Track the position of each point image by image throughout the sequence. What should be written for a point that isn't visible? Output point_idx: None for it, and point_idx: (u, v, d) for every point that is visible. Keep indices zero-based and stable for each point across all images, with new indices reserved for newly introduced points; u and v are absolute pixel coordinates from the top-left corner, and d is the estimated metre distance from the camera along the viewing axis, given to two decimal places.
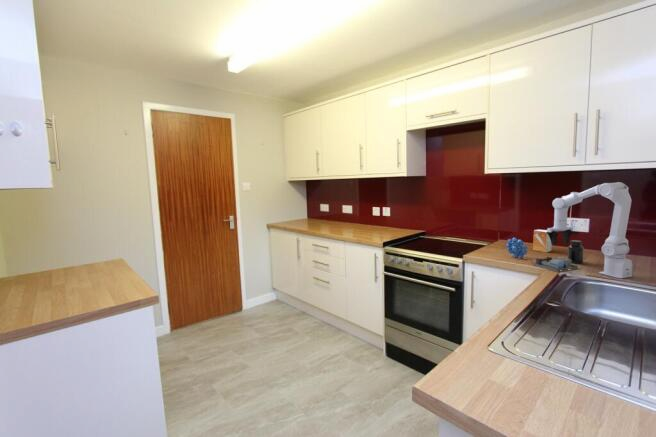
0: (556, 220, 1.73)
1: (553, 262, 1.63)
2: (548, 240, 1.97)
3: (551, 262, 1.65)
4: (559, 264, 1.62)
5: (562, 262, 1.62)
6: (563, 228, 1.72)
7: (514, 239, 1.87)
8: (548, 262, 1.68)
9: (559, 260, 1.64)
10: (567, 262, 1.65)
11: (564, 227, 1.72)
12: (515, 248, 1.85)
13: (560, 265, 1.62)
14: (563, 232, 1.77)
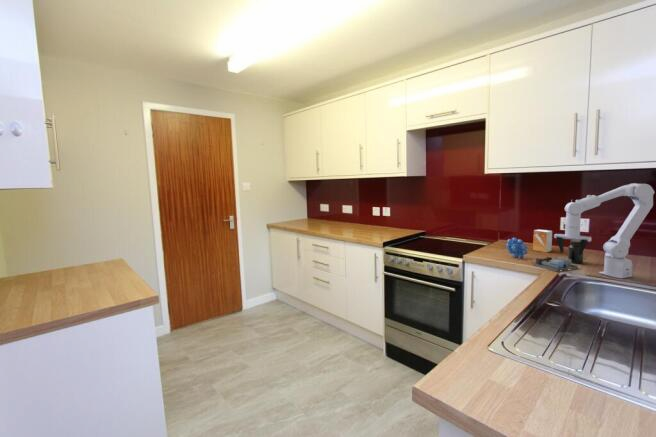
0: None
1: (553, 262, 1.63)
2: (548, 240, 1.97)
3: (551, 262, 1.65)
4: (559, 264, 1.62)
5: (562, 262, 1.62)
6: (568, 236, 1.54)
7: (514, 239, 1.87)
8: (548, 262, 1.68)
9: (559, 260, 1.64)
10: (567, 262, 1.65)
11: (569, 235, 1.54)
12: (515, 248, 1.85)
13: (560, 265, 1.62)
14: None
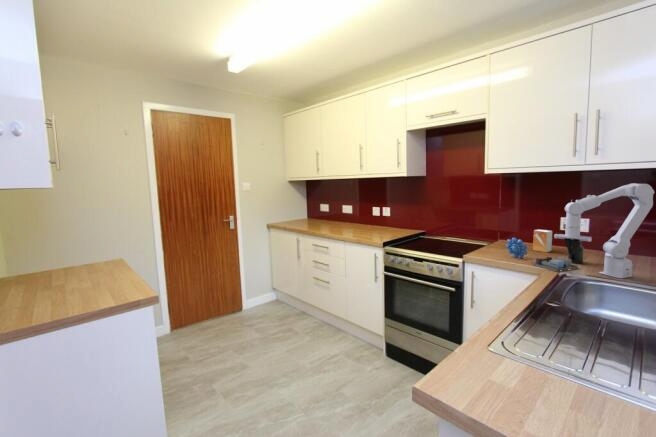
0: None
1: (553, 262, 1.63)
2: (548, 240, 1.97)
3: (551, 262, 1.65)
4: (559, 264, 1.62)
5: (562, 262, 1.62)
6: (568, 236, 1.54)
7: (514, 239, 1.87)
8: (548, 262, 1.68)
9: (559, 260, 1.64)
10: (567, 262, 1.65)
11: (570, 235, 1.54)
12: (515, 248, 1.85)
13: (560, 265, 1.62)
14: None
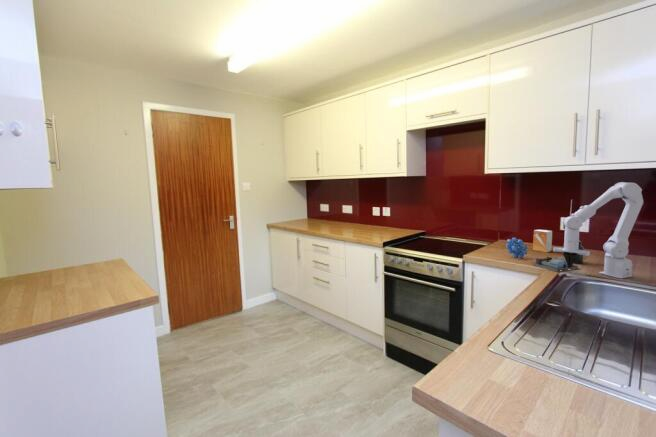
0: None
1: (553, 262, 1.63)
2: (548, 240, 1.97)
3: (551, 262, 1.65)
4: (559, 264, 1.62)
5: (562, 262, 1.62)
6: (567, 250, 1.55)
7: (514, 239, 1.87)
8: (548, 262, 1.68)
9: (559, 260, 1.64)
10: None
11: (568, 249, 1.55)
12: (515, 248, 1.85)
13: (560, 265, 1.62)
14: None
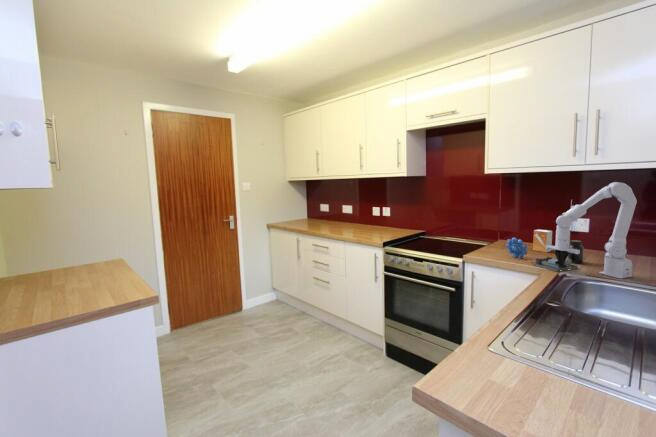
0: None
1: (551, 261, 1.65)
2: (548, 240, 1.97)
3: (549, 261, 1.66)
4: (557, 263, 1.63)
5: None
6: (557, 248, 1.60)
7: (514, 239, 1.87)
8: (546, 261, 1.69)
9: None
10: (567, 262, 1.65)
11: (558, 247, 1.59)
12: (515, 248, 1.85)
13: (558, 264, 1.63)
14: None
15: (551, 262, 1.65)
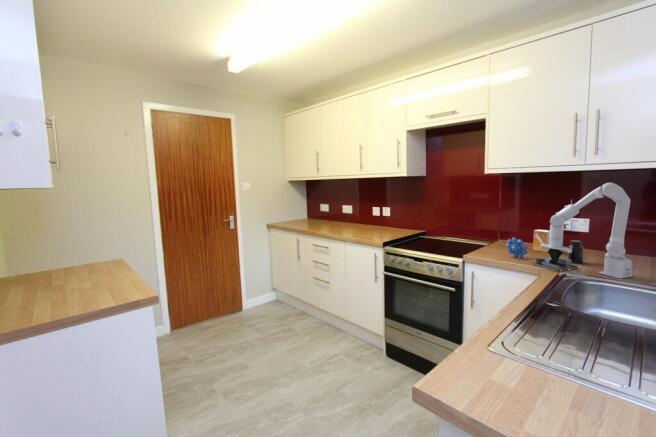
0: None
1: (545, 260, 1.68)
2: (548, 240, 1.97)
3: (543, 260, 1.69)
4: (551, 262, 1.66)
5: None
6: (550, 246, 1.64)
7: (514, 239, 1.87)
8: None
9: None
10: (567, 262, 1.65)
11: (551, 245, 1.63)
12: (515, 248, 1.85)
13: (552, 263, 1.66)
14: None
15: (545, 260, 1.68)
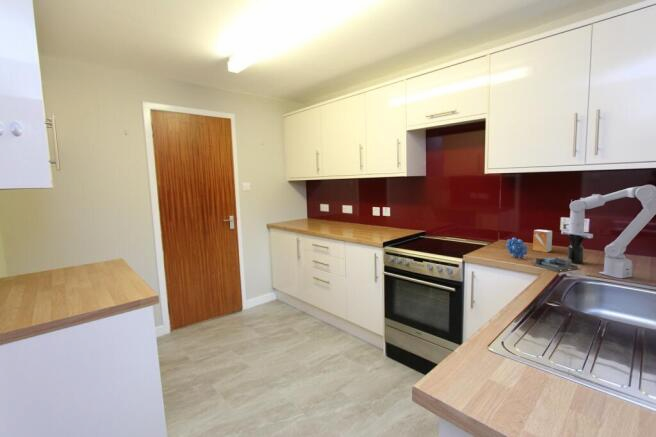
0: None
1: (545, 260, 1.68)
2: (548, 240, 1.97)
3: (543, 260, 1.69)
4: (551, 262, 1.66)
5: (554, 260, 1.66)
6: (570, 232, 1.61)
7: (514, 239, 1.87)
8: None
9: (551, 258, 1.68)
10: (567, 262, 1.65)
11: (571, 231, 1.60)
12: (515, 248, 1.85)
13: (552, 263, 1.66)
14: None
15: (545, 260, 1.68)
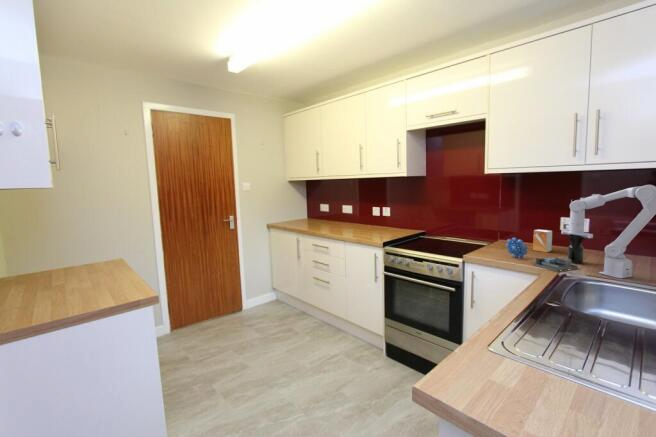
0: None
1: (545, 260, 1.68)
2: (548, 240, 1.97)
3: (543, 260, 1.69)
4: (551, 262, 1.66)
5: (554, 260, 1.66)
6: (570, 232, 1.61)
7: (514, 239, 1.87)
8: None
9: (551, 258, 1.68)
10: (567, 262, 1.65)
11: (571, 231, 1.60)
12: (515, 248, 1.85)
13: (552, 263, 1.66)
14: None
15: (545, 260, 1.68)
